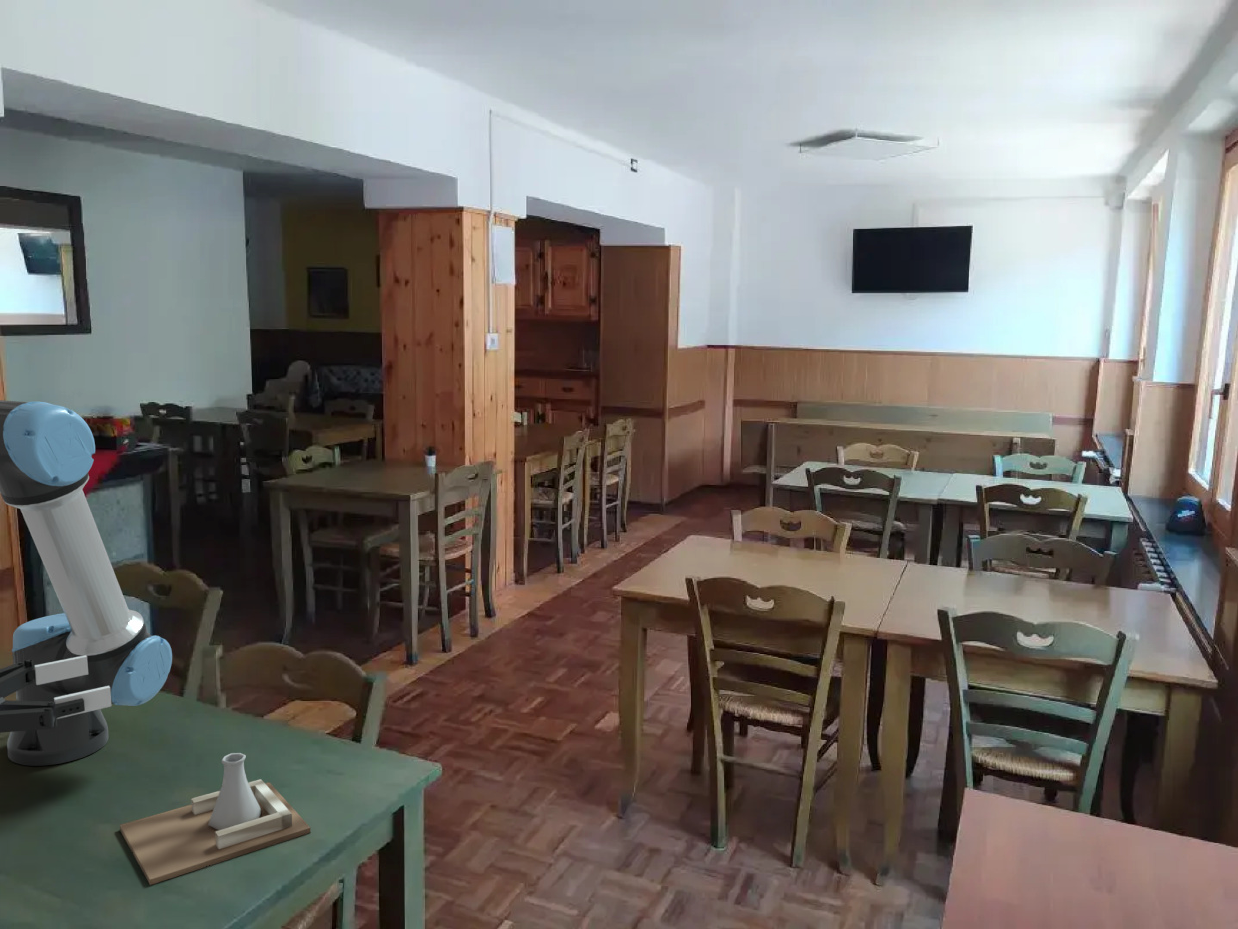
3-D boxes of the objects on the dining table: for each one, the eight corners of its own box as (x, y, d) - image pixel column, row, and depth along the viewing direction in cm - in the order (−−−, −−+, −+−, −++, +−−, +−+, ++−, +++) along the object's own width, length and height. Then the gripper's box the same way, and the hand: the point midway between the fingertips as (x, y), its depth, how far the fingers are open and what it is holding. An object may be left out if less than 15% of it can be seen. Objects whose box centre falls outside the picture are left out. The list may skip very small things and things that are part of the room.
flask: (242, 836, 137) (241, 772, 136) (198, 829, 139) (196, 765, 137) (270, 811, 144) (269, 750, 143) (228, 804, 146) (226, 744, 144)
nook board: (119, 830, 139) (119, 812, 139) (269, 787, 153) (269, 770, 153) (150, 885, 126) (149, 866, 126) (310, 832, 140) (310, 815, 140)
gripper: (-95, 713, 129) (80, 676, 143) (-77, 788, 111) (122, 737, 124) (-101, 661, 128) (76, 629, 141) (-83, 728, 109) (119, 683, 123)
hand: (98, 679), depth 133 cm, fingers open, 13 cm apart
